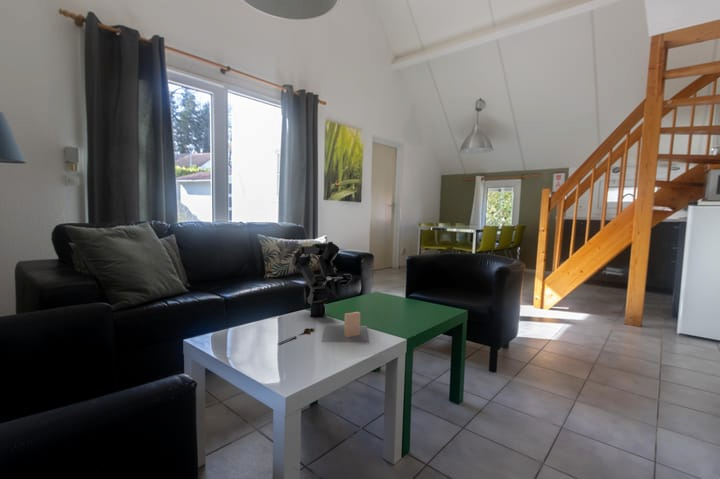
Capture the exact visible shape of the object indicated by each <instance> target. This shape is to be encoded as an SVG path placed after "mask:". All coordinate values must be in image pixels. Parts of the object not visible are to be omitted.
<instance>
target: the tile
mask: <svg viewBox="0 0 720 479" xmlns="http://www.w3.org/2000/svg"><path fill="white" fill-rule="evenodd" d="M343 325H344V336H345V337H352V336H357V335H360V326H361V312H359V311H353V312H346V313H344V324H343Z"/></svg>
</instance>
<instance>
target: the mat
mask: <svg viewBox="0 0 720 479" xmlns="http://www.w3.org/2000/svg"><path fill="white" fill-rule="evenodd" d="M322 334H323V335H322V338H321V342H322V343H323V342H324V343H364V344H365V343H368V344H369V343H370V338H369V329H368V325H360V335H357V336H352V337H345V336H344V324H343V325H342V324H341V325H340V324H325V326H324V330H323V333H322Z"/></svg>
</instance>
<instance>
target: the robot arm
mask: <svg viewBox="0 0 720 479" xmlns="http://www.w3.org/2000/svg"><path fill="white" fill-rule="evenodd" d="M339 252H340V247H339V246H338V245H337V244H335V243H334V242H333V241H328V242H326V243H325V242H321V243H320V242H319V243H318V242H316V243H313V244H311V245H302V246H300V247H299V249H298V250H297V252H295V253H294V255H293V258H292V261H291V262H292V265H293V267H294V268H295V269H296V270H297V271H299V272H301V274H302V276H303V277H304V279H305V281H306V283H307V285H308V287H309V289H310V292H309V295H308V296H307V303H308V304H309V305H310V315H309V318H324V317H325V315H326V311H327V310H326V309H327V308H326V307H327V306H326V304H328V302H329V299H330V292H331V293H332V295H333V296H334V297H335V298H336V299H337V298H339V296H340V295H339V294H340V288H341V286H347V285H349V283H350V282H351V281H352V280H353V276H352V274H350V273H343V274H342V275H341V276H340V277H339V276H338V275H339V273H338V272H336V270H335V268H336V265H335V264H333V261H334V260H335V258H336V257H337V255H338V254H339ZM311 254H312V255H313V256H315V257H317V256H319V257H318V258H317V261H316V264H317V265H319V267H320V270H321V271H320V272H319V273H320V274H314V271H313V270H312V268H311V267H310V263H311V260H312V257H311Z"/></svg>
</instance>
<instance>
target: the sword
mask: <svg viewBox="0 0 720 479" xmlns="http://www.w3.org/2000/svg"><path fill="white" fill-rule="evenodd" d="M315 329H316V328H315V327H314V328H312V327H311V328H304V330H303V332H301V333H299V334H297V336H296V335H294V336H292V337H289V338H285V339H284V340H281V341H280V342H278V343H277V345H278V346H281V345H283V344H286V343H287V342H289V341H291V340H293V339H296V338H297V337H300V336H304V335H309V334H311V332H315ZM311 335H312V334H311Z"/></svg>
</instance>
